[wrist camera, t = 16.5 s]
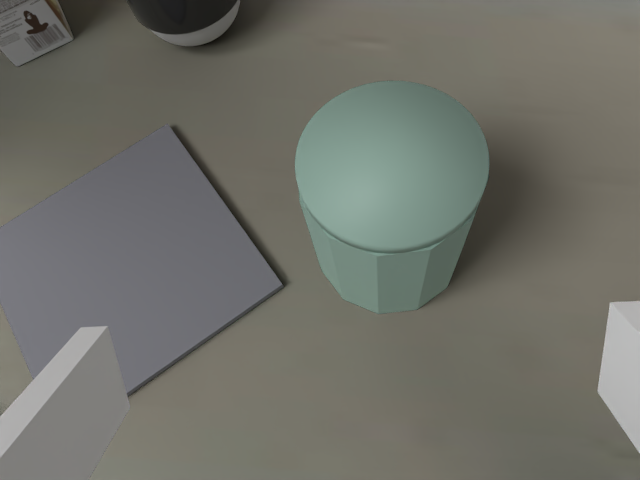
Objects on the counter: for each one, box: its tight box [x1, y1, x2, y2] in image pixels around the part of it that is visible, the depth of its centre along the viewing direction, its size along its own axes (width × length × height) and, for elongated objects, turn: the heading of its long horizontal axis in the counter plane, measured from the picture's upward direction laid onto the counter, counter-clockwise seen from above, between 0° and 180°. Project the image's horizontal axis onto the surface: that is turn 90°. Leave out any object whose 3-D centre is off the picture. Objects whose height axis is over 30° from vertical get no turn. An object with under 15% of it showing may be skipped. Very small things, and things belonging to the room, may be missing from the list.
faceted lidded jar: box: [295, 81, 489, 314], centre depth 32 cm, size 10×10×12 cm
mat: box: [0, 124, 284, 397], centre depth 39 cm, size 18×18×1 cm
